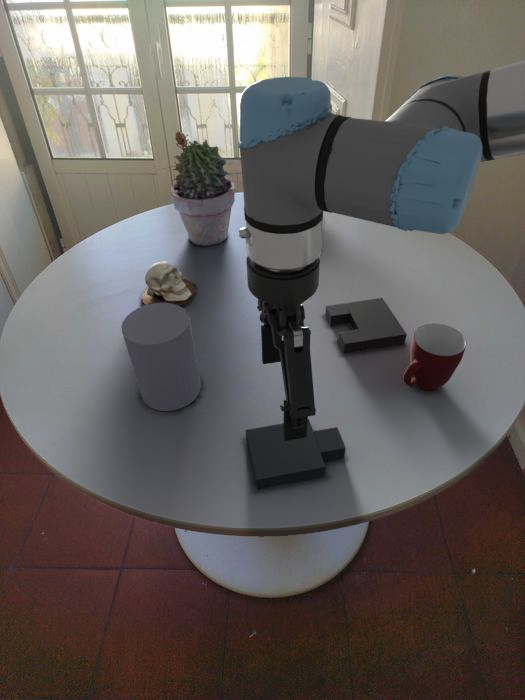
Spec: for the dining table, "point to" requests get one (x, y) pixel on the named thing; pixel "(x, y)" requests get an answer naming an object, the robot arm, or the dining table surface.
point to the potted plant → (202, 192)
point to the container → (162, 355)
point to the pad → (291, 454)
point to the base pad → (366, 325)
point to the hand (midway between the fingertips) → (282, 396)
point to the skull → (167, 285)
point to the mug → (434, 356)
